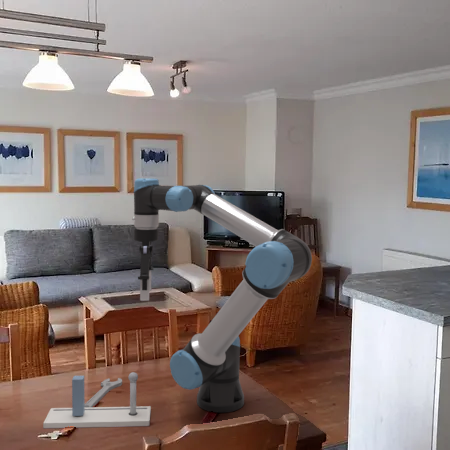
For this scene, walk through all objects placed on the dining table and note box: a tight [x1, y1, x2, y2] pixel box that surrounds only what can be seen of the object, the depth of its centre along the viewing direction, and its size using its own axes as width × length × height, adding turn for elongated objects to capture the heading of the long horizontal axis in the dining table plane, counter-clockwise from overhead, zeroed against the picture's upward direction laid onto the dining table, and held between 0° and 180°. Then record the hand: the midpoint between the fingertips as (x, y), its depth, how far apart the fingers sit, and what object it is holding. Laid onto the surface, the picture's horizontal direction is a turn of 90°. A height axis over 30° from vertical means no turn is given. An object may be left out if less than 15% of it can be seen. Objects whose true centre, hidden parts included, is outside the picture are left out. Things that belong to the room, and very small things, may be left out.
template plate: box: [42, 371, 152, 429], centre depth 163 cm, size 30×10×14 cm, turn 95°
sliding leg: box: [71, 375, 86, 416], centre depth 163 cm, size 3×3×11 cm
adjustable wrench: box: [85, 377, 123, 408], centre depth 182 cm, size 25×6×2 cm, turn 164°
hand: (145, 295), depth 174 cm, fingers open, 13 cm apart
